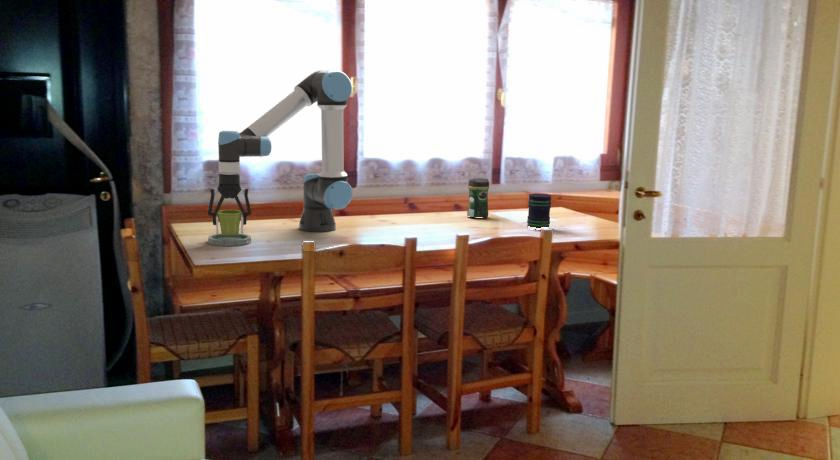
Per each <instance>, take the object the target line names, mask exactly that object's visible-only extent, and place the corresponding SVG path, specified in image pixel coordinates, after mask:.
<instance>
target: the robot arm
mask: <svg viewBox="0 0 840 460" xmlns="http://www.w3.org/2000/svg"><path fill="white" fill-rule="evenodd" d="M352 91H353V85H352V81H351V79H350V78H349V76H348V75H347V74H346V73H344V72H343V71H340V70H336V69H332V70H330V69H329V70H325V69H323V70H321V69H320V70H317V71H314V72H312V73H310V74H309V75H308V76H306V77H305V78H304V79H303V80H301V82H299V83H298V84H297V85H295V86H294V88H293V91H292V92H290V93H289V94H288V95H287V96H286V97H284V98H283V99H281V101H279V102H278V103H277V104H275V105H274V106H273V107H272V108H271V109H269V110H267V111H266V112H264V114H262V115H261V116H260V117H259V118H257V119H256V120H255V121H254V122H252V123H251V124H250V125H249V126H248V127H246V128H245V129H243V130H242V131H241V132H239V131H237V130H221V131H219V132H218V141H217V146H218V172H219V174H218V187H214V188H213V187H211V188H210V200H209V204H208V210H207V215H208V216H211V217H212V225H213V226H215V227H216V228H215V234H219V217H218V214H217V213H218V211H220V208H221V206H222V204H223V202H224V200H225V199H234V200H235V201H236V204H237V206H238V208H239V210H240V211H241V212H242V214H241V217H240V234H244V225H245V226H246V225H247V218H248V217H249V215H252V210H251V205H250V201H249V196H248V195H249V189H248V188H247V187H241V184H240V182H241V181H240V180H241V179H240V178H241V177H240V176H241V175H240V171H241V170H240V168H241V167H240V165H241V164H240V163H241V161H240V160H241V157H249V158H250V157H251V158H252V157H260V158H262V157H268V156H270V155H271V152H272V141H271V139H270V137H269V136H270V135H271V134H273V133H274V132H275V131H277V130H278V129H279V128H280V127H281V126H283V125H284V124H285V123H287V122H288V121H289V120H290V119H292V118H293V117H294V116H296V115H297V114H298V113H299V112H301V111H302V110H303V109H305V108H306V107H311V106H312V105H313V104H314V103H316V104H317V106H318V108H319V109H320V111H321V117H320V118H321V119H320V120H321V121H320V122H321V171H320V172H319V173H307V174H305V175H304V177H303V183H302V184H303V211H302V214H301V216H300V220H299V223H298V227H299V228H298V229H299V230H301V231H306V232H331V231H335V230H336V228H337V224H336V219H335V217H334V216H335V215H334V214H333V210H342V209H344V208H346V207H347V206H348V205H349V204H350V203H351V200H352V199H353V188H352V186H351V185H350V183H348V181H349V180H348V179H349V178H348V173H347V172H346V171H345V169H344V168H345V167H344V166H345V165H344V164H345V163H344V160H345V159H344V158H345V157H344V155H345V153H344V149H345V148H344V143H345V141H344V110H345V109H346V108H347V106H348V99H349V97H350V96H351V94H352ZM217 192H219V194H220V198H219V200H218V202H217V203H216V206H215V209H214V210H213V206H214V200H215V195H216V194H217ZM240 192H241V193H242V194H243V196H244V201H245V205H246V210H247V211H245V208H244V207H243V205H242V202H241V200H240V198H239V196H238V195H239V194H240Z"/></svg>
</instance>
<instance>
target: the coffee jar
mask: <svg viewBox="0 0 840 460" xmlns="http://www.w3.org/2000/svg"><path fill="white" fill-rule="evenodd" d="M467 188H468V190H469V193H468V195H469V196H468V206H467V212H466V213H467V214H466V215H467V217H468V216H470V217H487V218H488V217H489V203H488V202H489V199H488V198H489V197H488V196H489V194H488V193H489V189H490V181H489V179H487V178H484V177H483V178H481V177H480V178H479V177H478V178H477V177H476V178H470V179H469V180H468V186H467Z"/></svg>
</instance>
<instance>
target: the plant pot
mask: <svg viewBox="0 0 840 460" xmlns="http://www.w3.org/2000/svg"><path fill="white" fill-rule="evenodd" d="M242 215H243V214H242V212H241V210H240V209H239V210H238V209H221V210H220V209H219V211H218V213H217V216H218V222H219V227H220V231H221V233H222V235H225V236H228V235H232V236H234V235H238V233H239V232H240V225H241V216H242ZM221 233H220V234H221Z"/></svg>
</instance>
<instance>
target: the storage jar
mask: <svg viewBox="0 0 840 460" xmlns="http://www.w3.org/2000/svg"><path fill="white" fill-rule="evenodd" d="M551 206H552V195H550V194H547V193H546V194H545V193H530V194H528V205H527V207H528V215H527V220H526V225H527V227H528V226H530V227H536V228H541V227H549V228H550V223H551V221H550V220H551V217H550V213H551V211H550V210H551Z"/></svg>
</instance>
